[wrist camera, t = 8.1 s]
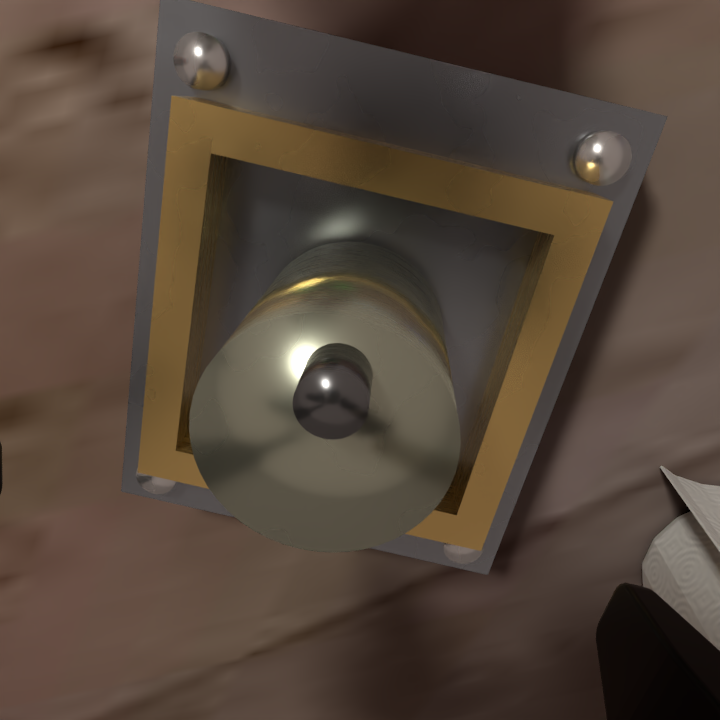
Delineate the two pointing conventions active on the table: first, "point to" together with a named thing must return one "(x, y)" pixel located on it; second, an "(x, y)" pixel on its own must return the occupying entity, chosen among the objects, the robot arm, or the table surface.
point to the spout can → (332, 404)
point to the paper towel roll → (689, 558)
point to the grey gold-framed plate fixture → (373, 233)
